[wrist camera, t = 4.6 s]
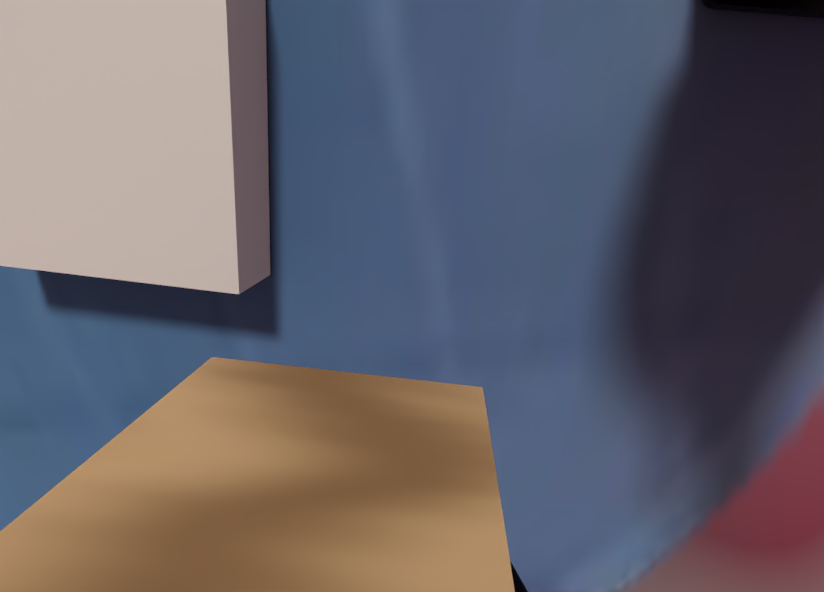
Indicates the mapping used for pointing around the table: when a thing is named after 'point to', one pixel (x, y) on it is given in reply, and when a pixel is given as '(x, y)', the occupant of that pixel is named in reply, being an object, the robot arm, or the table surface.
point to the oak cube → (277, 492)
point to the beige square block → (136, 140)
